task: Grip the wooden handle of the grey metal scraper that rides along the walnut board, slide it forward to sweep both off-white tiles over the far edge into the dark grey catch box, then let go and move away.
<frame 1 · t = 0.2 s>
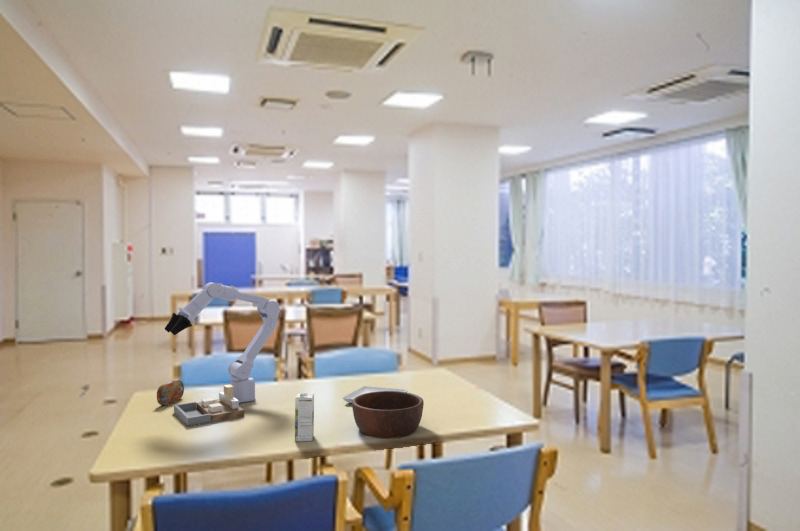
hand: (169, 332, 204), 31 cm above the table, tool tilted 45°, fingers open, 7 cm apart
tile a: (208, 404, 207), point 2 cm above the table, touching board
salad plate: (375, 401, 222), on the table
tile b: (215, 410, 200), point 2 cm above the table, touching board
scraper: (228, 394, 207), point 6 cm above the table, slide at 0.0 cm
catch box: (191, 417, 199), on the table
syrup box: (304, 439, 177), on the table
board: (219, 412, 205), on the table
wooden bowl: (387, 429, 187), on the table
tin: (170, 402, 219), on the table
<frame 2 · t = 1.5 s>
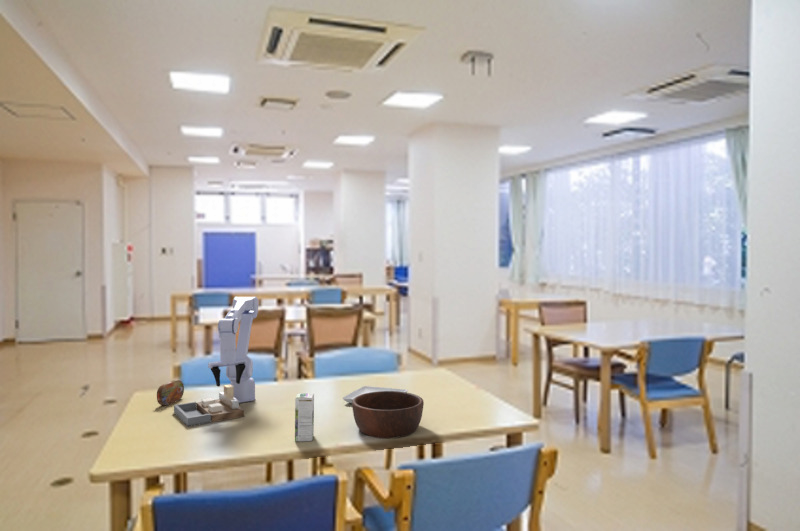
hand: (228, 384, 207), 10 cm above the table, tool pointing down, fingers open, 7 cm apart
nothing on the table moved.
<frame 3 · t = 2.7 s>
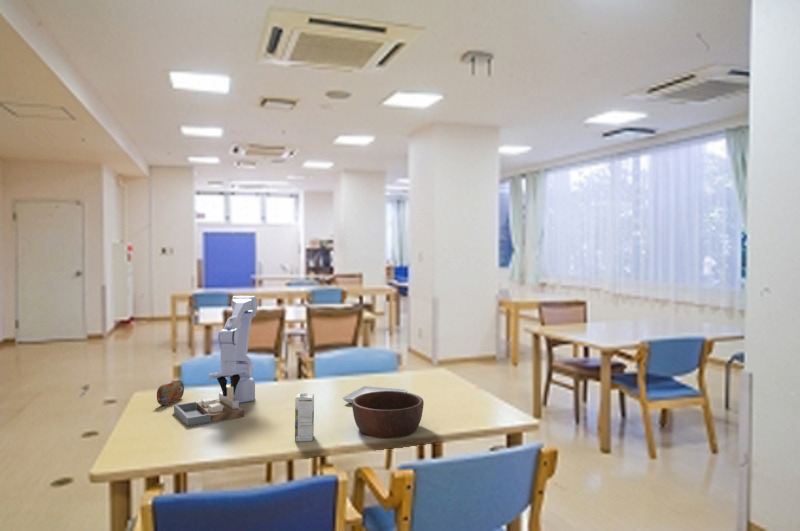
hand: (228, 395, 207), 6 cm above the table, tool pointing down, fingers closed on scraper, 2 cm apart
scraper: (228, 394, 207), point 6 cm above the table, slide at 0.0 cm, touching gripper
everything else where it was.
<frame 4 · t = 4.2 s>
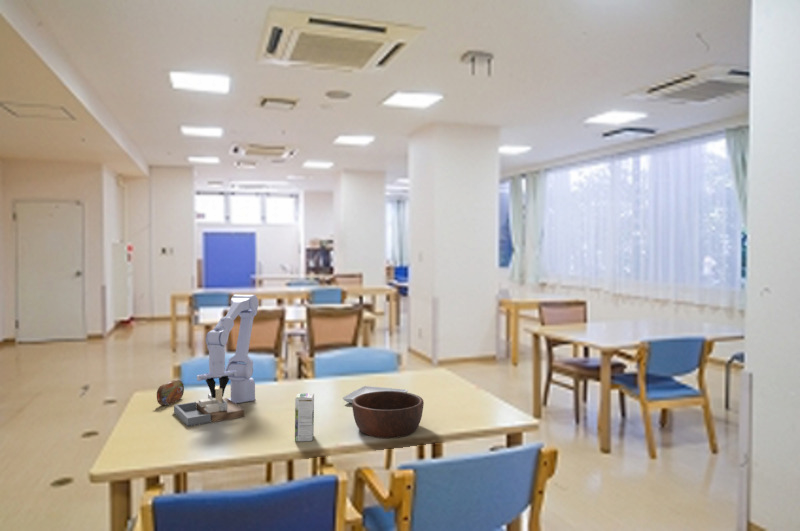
hand: (217, 396, 204), 6 cm above the table, tool pointing down, fingers closed on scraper, 2 cm apart
tile a: (205, 405, 206), point 3 cm above the table
tile b: (212, 410, 199), point 3 cm above the table
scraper: (217, 396, 204), point 6 cm above the table, slide at 4.3 cm, touching gripper
everything else where it was.
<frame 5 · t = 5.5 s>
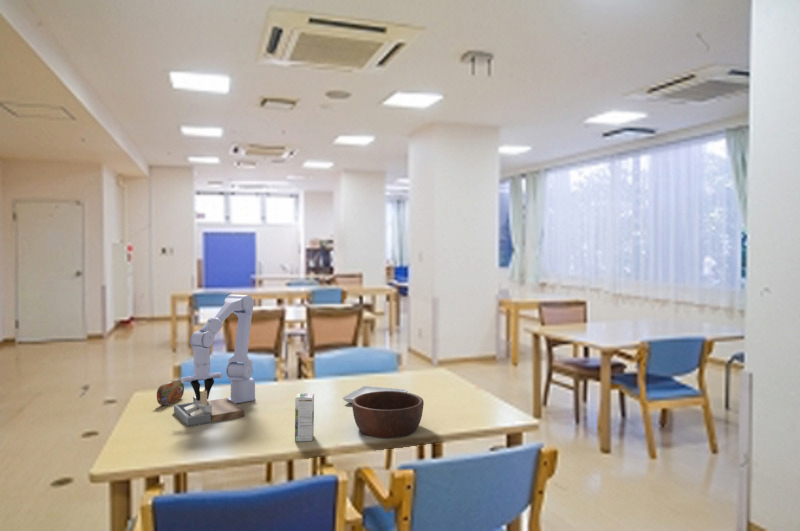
hand: (202, 399, 201), 6 cm above the table, tool pointing down, fingers closed on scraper, 2 cm apart
tile a: (191, 411, 203), point 1 cm above the table, tilted 15°, touching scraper
tile b: (198, 417, 196), point 1 cm above the table, tilted 17°, touching catch box, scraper
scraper: (202, 399, 201), point 6 cm above the table, slide at 10.0 cm, touching gripper, tile a, tile b
everything else where it was.
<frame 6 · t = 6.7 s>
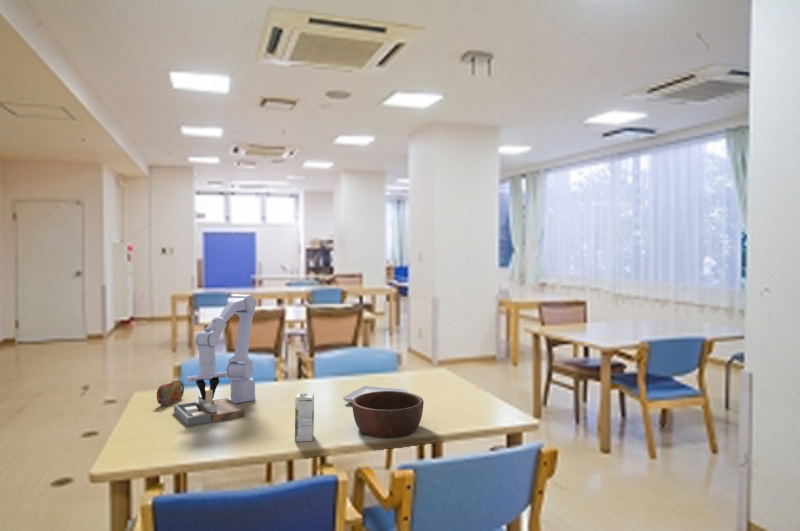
hand: (207, 398, 202), 6 cm above the table, tool pointing down, fingers closed on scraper, 2 cm apart
tile a: (191, 413, 203), resting on catch box
tile b: (198, 418, 196), resting on catch box
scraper: (207, 398, 202), point 6 cm above the table, slide at 8.0 cm, touching gripper
everything else where it was.
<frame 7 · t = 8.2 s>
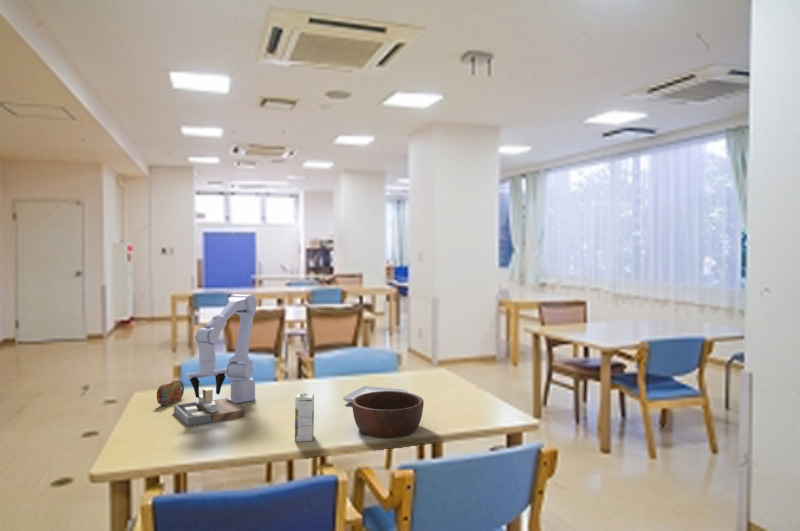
hand: (207, 395, 202), 7 cm above the table, tool pointing down, fingers open, 7 cm apart
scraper: (207, 398, 202), point 6 cm above the table, slide at 8.0 cm
everything else where it was.
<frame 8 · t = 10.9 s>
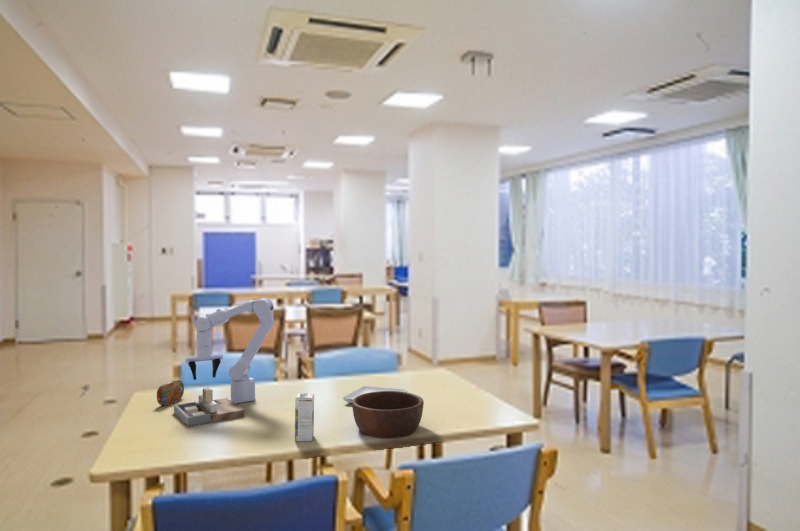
hand: (204, 378, 221), 9 cm above the table, tool pointing down, fingers open, 7 cm apart
nothing on the table moved.
at the end: tile a inside the target area on the catch box (4.6 cm from its centre), point 0.4 cm above the catch box's base; tile b inside the target area on the catch box (4.6 cm from its centre), point 0.4 cm above the catch box's base; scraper slide at 8.0 cm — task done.
